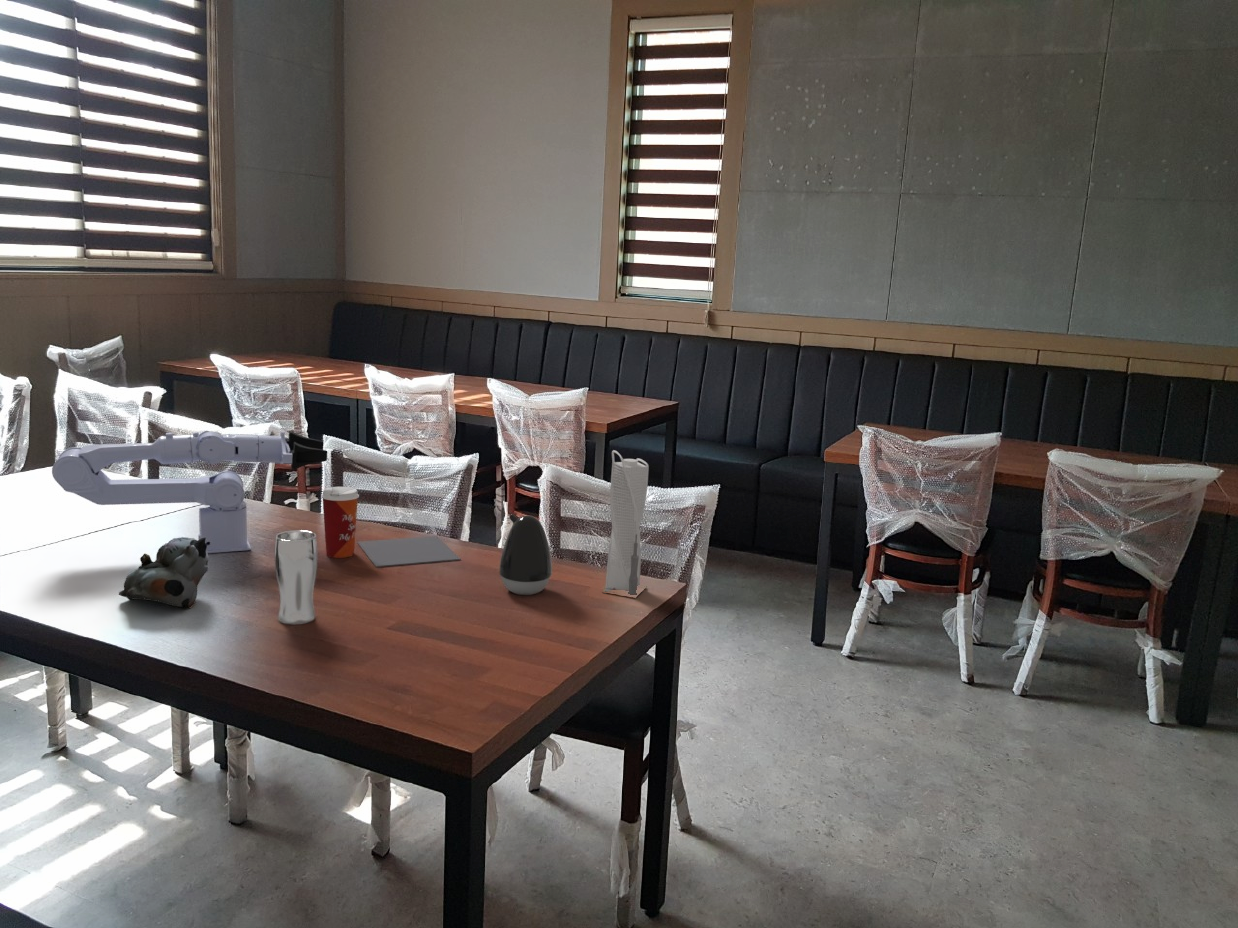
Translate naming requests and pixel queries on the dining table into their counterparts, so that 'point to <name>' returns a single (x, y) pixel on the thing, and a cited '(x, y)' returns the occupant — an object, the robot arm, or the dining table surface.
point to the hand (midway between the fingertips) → (325, 451)
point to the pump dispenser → (525, 557)
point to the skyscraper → (626, 523)
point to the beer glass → (296, 575)
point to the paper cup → (340, 520)
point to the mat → (407, 551)
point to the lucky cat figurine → (170, 573)
